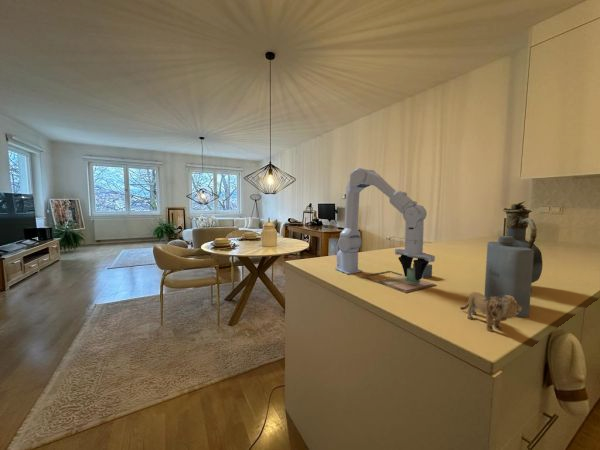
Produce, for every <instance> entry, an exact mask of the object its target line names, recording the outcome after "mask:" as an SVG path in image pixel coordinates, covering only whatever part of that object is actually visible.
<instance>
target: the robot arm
mask: <svg viewBox="0 0 600 450" xmlns="http://www.w3.org/2000/svg"><path fill="white" fill-rule="evenodd" d="M371 186H373V187H375V188H377V189H378V190H379V191H380V192H382V194H385V196H386V197H388V198H389V204H390V205H391V206H393V208H395V209H396V210H397V211H398V212H399V213H400V214H402V217H403V219H404V221H405V235H404V237H405V238H404V239H405V240H404V249H402V248H395V249H394V255H396V256H398V255H400V256H399V257H398V261H399V263H400V264H401V267H402V270H403V273H404V274H403V275H405V277H407V268H412V265H413V264H414V265H415V279H416V280H422V279H423V278H422V274H423V272H424V270H425V268H426V266H427V265H428V264H430V263H433V262H435V259H436V255H433V254H429V253H426V252H423V251H424V248H423V247H424V229H425V227H424V224H425V223H424V221H425V219H426V217H427V210H426V208H425V207H424V206H423V205H420V204H419V205H418V202H417V201H415V200H413V199H411V198H410V197H409V196H408V193H407V192H406V191H402V190H398V191H397V190H396V189H395V188H393V186H391V184H389V183H388V182H387V181H386V180H385V179H384V178H383V177H382V176H381V175H380V174H379V173H378V172H376V171H375V170H374V169H366V168H362V167H357V168H355V169H354V170H353V171H352V172H351V173H350V174H349V180H348V183H347V186H346V193H345V207H344V208H345V211H344V213H345V214H344V228H343V230H342V231H341V232H340V233H339V239H338V241H337V246H338V248H339V250H338V251H337V253H336V267H334V269H335V270H336V271H339V272H341V273H345V274H347V275H350V274H356V273H362V272H363V270H361V269H359V250H360V248H361V246H362V243H363V240H362V238H361V232H360V230H359V229H358V226H359V225H358V224H359V207H360V206H359V205H360V193H361V192H362V191H363V190H364V189H365V188H368V187H371Z"/></svg>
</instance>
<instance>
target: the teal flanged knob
mask: <svg viewBox="0 0 600 450" xmlns="http://www.w3.org/2000/svg"><path fill="white" fill-rule="evenodd" d="M420 280H421V279H420ZM420 280H416V279H415V268H413V267H411V268H407V278H406V279H405V281H406V282H408V283H412V284H419V283H420Z"/></svg>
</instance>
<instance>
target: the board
mask: <svg viewBox="0 0 600 450" xmlns="http://www.w3.org/2000/svg"><path fill="white" fill-rule="evenodd" d="M391 272H392V274H394V275H398V276H393V277H388V278H383V279H378V280H376V279H375V278H374V279H373V278H371V276H375V275H382V274H385V273H387V274H388V273H391ZM361 277H362V278H364V279H367V280H370V281H372V282H374V283H378V284H380V285H383V286H386V287H387V288H391V289H394V290H396V291H400V292H401V293H405V294H408V293H411V292H416V291H420V290H424V289H428V288H431V287H436V286H437V284H435V283H432V282H429V281H425V280H422V279H420V283H419V284H412V283H408V282H406V281H405V279H406V278H407V277H405V275H404V274H402V273H399V272H395V271H393V270H386V271H381V272H375V273H371V274H366V275H362V276H361Z"/></svg>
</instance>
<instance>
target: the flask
mask: <svg viewBox="0 0 600 450" xmlns="http://www.w3.org/2000/svg"><path fill="white" fill-rule="evenodd" d="M513 243H515V238H513V237H510V236H507V235H500V236H499V237H498V238H497V241H488V242H487V245H486V247H487V248H486V262H485V263H486V264H485V280H484V282H485V283H484V295H483V296H484V297H485V298H486V299H488V298H489V297H496V296H501V295H510V296H512V297H514V299H515V301H516V302H517V304H518V305H520V306H521V307H522V310H521V311H519V314H516V316H515V317H517V318H527V317H529V316H530V310H531V309H530V307H531V306H530V305H531V292H532V284H533V283H532V270H533V256H534V250H532V249H529V248H524V247H519V246H515V245H513Z"/></svg>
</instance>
